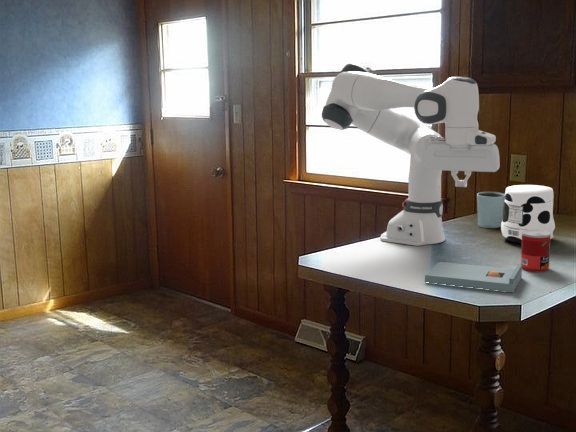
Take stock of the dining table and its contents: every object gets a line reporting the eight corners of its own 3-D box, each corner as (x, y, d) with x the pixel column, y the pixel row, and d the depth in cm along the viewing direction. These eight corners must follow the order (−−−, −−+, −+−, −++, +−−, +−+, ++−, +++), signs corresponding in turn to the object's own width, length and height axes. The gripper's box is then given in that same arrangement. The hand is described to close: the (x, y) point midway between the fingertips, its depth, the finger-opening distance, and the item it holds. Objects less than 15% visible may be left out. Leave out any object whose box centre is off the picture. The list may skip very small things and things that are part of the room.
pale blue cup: (474, 222, 264) (475, 191, 261) (502, 222, 262) (502, 191, 260) (478, 228, 254) (478, 196, 251) (506, 228, 252) (507, 196, 250)
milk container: (550, 234, 242) (552, 184, 238) (557, 247, 225) (560, 193, 221) (499, 233, 245) (500, 184, 242) (502, 246, 229) (504, 193, 225)
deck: (425, 283, 195) (425, 269, 194) (438, 269, 207) (438, 256, 206) (512, 293, 184) (513, 278, 183) (521, 278, 196) (522, 264, 195)
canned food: (545, 273, 199) (547, 236, 197) (517, 270, 203) (518, 234, 201) (551, 266, 206) (553, 230, 203) (524, 263, 210) (525, 228, 207)
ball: (487, 271, 191) (500, 275, 190) (490, 267, 194) (502, 271, 192) (484, 282, 192) (496, 286, 191) (487, 278, 195) (499, 282, 194)
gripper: (421, 137, 190) (421, 187, 193) (497, 138, 181) (495, 190, 184) (427, 135, 196) (427, 183, 199) (501, 136, 186) (500, 186, 189)
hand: (461, 186), depth 191 cm, fingers closed
